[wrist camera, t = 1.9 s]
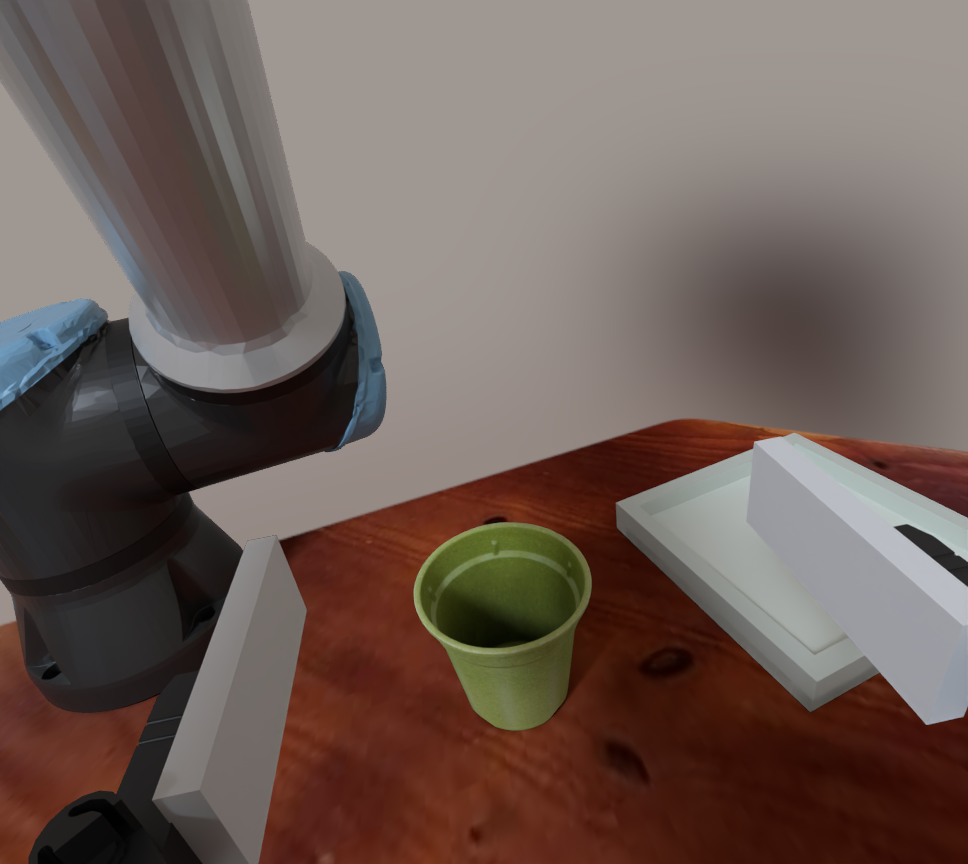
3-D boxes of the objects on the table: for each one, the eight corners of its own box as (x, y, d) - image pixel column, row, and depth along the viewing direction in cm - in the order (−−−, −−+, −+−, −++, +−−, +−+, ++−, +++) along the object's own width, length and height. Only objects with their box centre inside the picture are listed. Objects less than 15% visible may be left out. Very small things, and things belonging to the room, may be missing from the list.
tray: (616, 527, 45) (615, 502, 44) (790, 457, 50) (794, 432, 49) (810, 712, 31) (817, 681, 29) (1030, 586, 35) (1044, 555, 34)
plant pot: (576, 611, 39) (567, 509, 34) (619, 745, 30) (614, 632, 26) (439, 636, 39) (414, 537, 34) (445, 777, 30) (412, 668, 26)
